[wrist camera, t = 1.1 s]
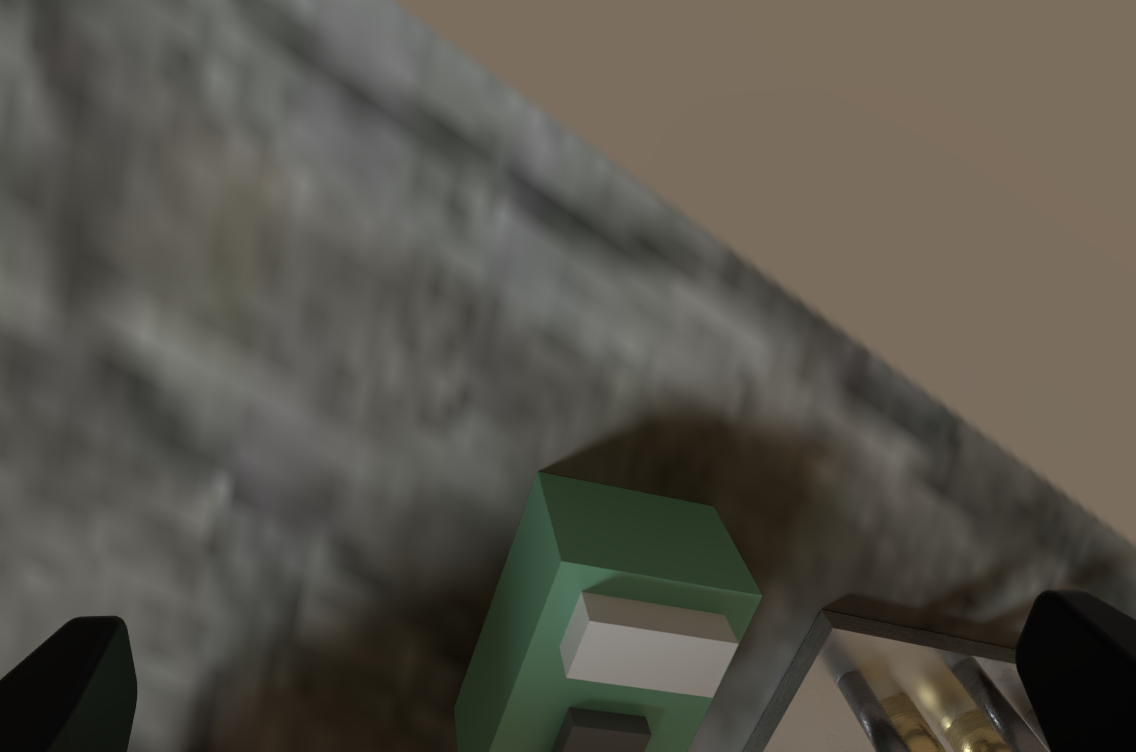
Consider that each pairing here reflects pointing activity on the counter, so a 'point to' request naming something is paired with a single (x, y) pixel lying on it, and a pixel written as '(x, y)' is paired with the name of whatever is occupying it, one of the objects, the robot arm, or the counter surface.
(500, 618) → the green block
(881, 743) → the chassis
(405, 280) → the counter surface
